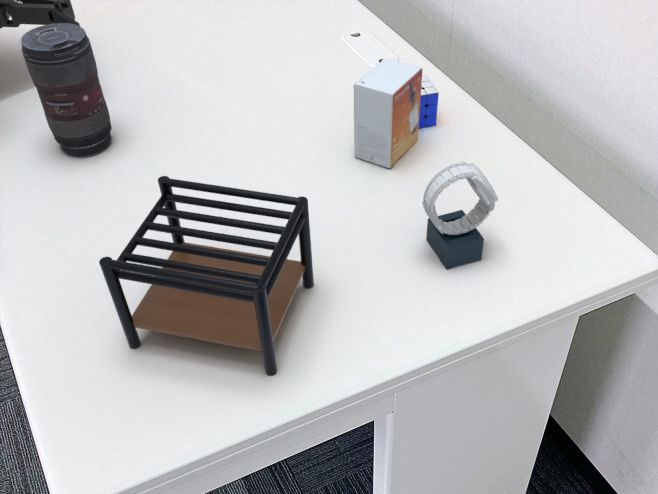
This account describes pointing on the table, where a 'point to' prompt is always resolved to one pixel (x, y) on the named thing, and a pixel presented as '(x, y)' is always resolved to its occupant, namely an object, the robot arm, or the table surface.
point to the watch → (458, 216)
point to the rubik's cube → (428, 103)
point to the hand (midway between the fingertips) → (34, 51)
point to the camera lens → (68, 87)
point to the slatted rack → (214, 272)
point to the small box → (387, 112)
